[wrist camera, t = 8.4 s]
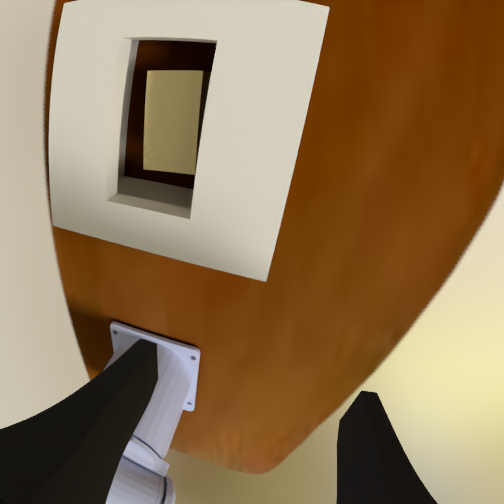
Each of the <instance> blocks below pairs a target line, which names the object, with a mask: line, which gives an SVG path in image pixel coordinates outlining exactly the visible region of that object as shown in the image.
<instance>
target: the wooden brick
mask: <svg viewBox="0 0 504 504" xmlns="http://www.w3.org/2000/svg"><path fill="white" fill-rule="evenodd" d="M210 77H211V72H207V71H193V70H158V71H147V84H146V100H145V120H144V160H143V169H146V170H156V171H165V172H175V173H184V174H192V175H196V167H197V160H198V153H199V146H200V139H201V132H202V125H203V119H204V113H205V107H206V101H207V95H208V89H209V83H210Z"/></svg>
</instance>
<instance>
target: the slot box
mask: <svg viewBox="0 0 504 504" xmlns="http://www.w3.org/2000/svg"><path fill="white" fill-rule="evenodd" d="M328 12H329V7H327V6H322V5H318V4H313V3H309V2H304V1H298V0H78V1H73V2H68V3H64V7H63V12H62V16H61V21H60V27H59V32H58V38H57V44H56V51H55V58H54V66H53V75H52V85H51V98H50V115H49V180H50V198H51V210H52V221H53V226H56V227H60V228H63V229H67V230H70V231H74V232H77V233H81V234H85V235H88V236H92V237H95V238H99V239H103V240H106V241H110V242H113V243H117V244H121V245H125V246H128V247H132V248H136V249H139V250H143V251H147V252H151V253H154V254H158V255H162V256H166V257H170V258H173V259H177V260H181V261H185V262H189V263H193V264H197V265H201V266H204V267H208V268H212V269H216V270H220V271H224V272H228V273H232V274H236V275H240V276H244V277H248V278H253V279H257V280H261V281H265V282H266V280H267V276H268V272H269V268H270V264H271V260H272V256H273V252H274V248H275V244H276V240H277V236H278V232H279V228H280V224H281V220H282V216H283V212H284V207H285V203H286V199H287V195H288V191H289V187H290V182H291V178H292V174H293V170H294V166H295V161H296V157H297V153H298V148H299V144H300V140H301V136H302V131H303V127H304V122H305V118H306V114H307V109H308V105H309V100H310V96H311V91H312V87H313V82H314V78H315V73H316V69H317V64H318V59H319V55H320V50H321V45H322V41H323V36H324V31H325V26H326V22H327V17H328ZM139 40H173V41H192V42H206V43H217V46H216V51H215V56H214V61H213V66H212V72H211V77H210V83H209V89H208V95H207V101H206V107H205V113H204V119H203V125H202V132H201V139H200V146H199V153H198V160H197V167H196V175H195V183H194V189H189V188H184V187H179V186H174V185H169V184H164V183H159V182H154V181H148V180H143V179H138V178H132V177H127V176H124V169H125V152H126V138H127V126H128V116H129V106H130V97H131V89H132V82H133V74H134V68H135V61H136V55H137V49H138V43H139Z"/></svg>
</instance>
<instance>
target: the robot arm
mask: <svg viewBox="0 0 504 504" xmlns="http://www.w3.org/2000/svg"><path fill="white" fill-rule="evenodd" d="M110 331H111V337H112V344H113V350H114V354H113V356H112V357H111V359H110V361H109V362H108V364H107V365H106V367H105V368H104V370H103V371H102V372H101V373H100V374H99V375H97V376H96V377H95V378H94V379H92V380H91V381H90V382H88V383H87V384H86V385H84V386H83V387H81V388H80V389H79V390H77V391H76V392H74V393H73V394H72V395H70V396H68V397H67V398H65V399H64V400H62V401H60V402H59V403H57V404H55V405H54V406H52V407H50V408H48V409H46V410H45V411H42V412H41V413H39V414H37V415H35V416H33V417H30V418H28V419H26V420H23V421H21V422H19V423H16V424H13V425H11V426H8V427H6V428H3V429H0V504H175V497H176V495H175V489H174V484H173V481H172V479H171V477H170V476H168V475H167V474H166V472H167V470H168V467H169V464H168V463H167V462H165V461H163V458H164V457H165V455H166V453H167V451H168V449H169V446H170V443H171V440H172V438H173V435H174V432H175V430H176V427H177V424H178V422H179V419H180V416H181V414H182V411H183V409H184V410H188V411H193V410H194V408H195V398H196V388H197V379H198V370H199V360H200V350H199V349H198V348H196V347H193V346H190V345H186V344H183V343H180V342H176V341H173V340H170V339H166V338H163V337H160V336H157V335H154V334H151V333H148V332H144V331H141V330H138V329H135V328H132V327H130V326H127V325H124V324H121V323H118V322H112V323H111V324H110ZM193 356H194V357H193ZM337 504H437V502H436V501H435V500H434V499H433V497H432V496H431V495H430V493H429V492H428V490H427V489H426V487H425V486H424V484H423V483H422V481H421V480H420V478H419V477H418V475H417V474H416V472H415V470H414V469H413V467H412V465H411V463H410V461H409V459H408V458H407V456H406V454H405V452H404V450H403V448H402V446H401V444H400V442H399V440H398V438H397V436H396V433H395V431H394V429H393V427H392V425H391V423H390V421H389V419H388V416H387V414H386V412H385V410H384V407H383V405H382V403H381V401H380V399H379V396H378V394H377V393H375V392H367V391H361V392H360V393H359V395H358V396H357V398H356V399H355V401H354V402H353V403H352V405H351V406H350V407H349V409H348V410H347V412H346V413H345V414H344V416H343V417H342V418H341V419H340V422H339V431H338V440H337Z"/></svg>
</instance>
